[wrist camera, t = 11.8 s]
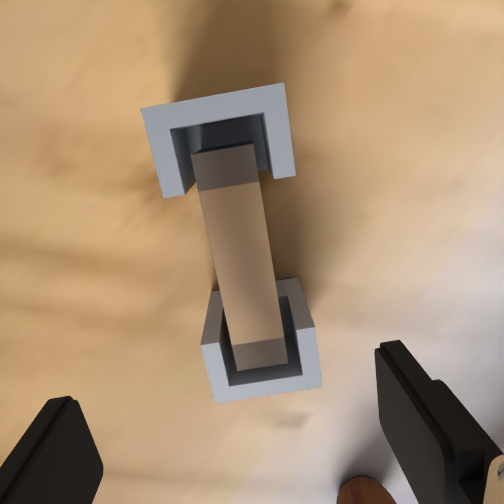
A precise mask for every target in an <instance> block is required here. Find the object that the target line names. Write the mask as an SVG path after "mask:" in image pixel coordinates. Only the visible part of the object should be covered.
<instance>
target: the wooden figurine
mask: <svg viewBox="0 0 504 504" xmlns="http://www.w3.org/2000/svg"><path fill="white" fill-rule="evenodd" d="M336 504H396V502H395V501H394V499H393V497H392V496H391V495H390V493H389V492H388V491H387V490H386V489H385V488H384V487H383V486H382V485H381V484H380V483H379V482H377V481H376V480H374V479H372V478H369V477H366V476H359V477H355V478H352V479H350V480H349V481H348V482H346V483H345V484H344V485H343V486H342V487H341V489H340V491H339V493H338V496H337V503H336Z"/></svg>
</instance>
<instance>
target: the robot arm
mask: <svg viewBox="0 0 504 504" xmlns="http://www.w3.org/2000/svg"><path fill="white" fill-rule="evenodd" d="M375 365H376V379H377V393H378V407H379V419H380V424H381V427H382V429H383V432H384V434H385V436H386V438H387V440H388V442H389V444H390V446H391V448H392V450H393V452H394V454H395V456H396V458H397V460H398V462H399V464H400V466H401V468H402V470H403V472H404V474H405V476H406V478H407V480H408V482H409V484H410V486H411V488H412V490H413V493H414V495H415V497H416V499H417V501H418V503H419V504H504V454H503V452H502V451H501V450H500V449H499V448H498V446H497V445H496V444H495V443H494V442H493V440H492V439H491V438H490V437H489V436H488V434H487V433H486V432H485V431H484V430H483V428H482V427H481V426H480V425H479V424H478V422H477V421H476V420H475V419H474V418H473V416H472V415H471V414H470V413H469V412H468V410H467V409H466V408H465V407H464V406H463V404H462V403H461V402H460V401H459V400H458V399H457V397H456V396H455V395H454V394H453V393H452V391H451V390H450V389H449V388H448V387H447V385H446V384H445V383H444V382H443V381H441V380H439V379H438V380H431V378H430V377H429V376H428V374H427V373H426V372H425V371H424V369H423V368H422V367H421V366H420V364H419V363H418V362H417V361H416V359H415V358H414V357H413V356H412V354H411V353H410V352H409V351H408V349H407V348H406V347H405V346H404V344H403V343H402V342H401V341H400V340H395V341H389V342H383V343H380V348H377V349H375ZM102 476H103V463H102V460H101V458H100V455H99V453H98V450H97V448H96V445H95V443H94V440H93V438H92V435H91V433H90V430H89V427H88V425H87V422H86V420H85V417H84V415H83V412H82V410H81V407H80V405H79V403H78V401H77V400H73V398H72V397H71V396H65V397H59V398H53V399H50V400H48V401H47V402H46V404H45V405H44V406H43V408H42V409H41V411H40V412H39V413H38V415H37V416H36V418H35V419H34V421H33V422H32V423H31V425H30V426H29V428H28V429H27V430H26V432H25V433H24V435H23V436H22V437H21V439H20V440H19V442H18V443H17V445H16V446H15V447H14V449H13V450H12V452H11V453H10V454H9V456H8V457H7V459H6V460H5V461H4V463H3V464H2V466H1V467H0V504H92V502H93V500H94V497H95V495H96V492H97V489H98V487H99V484H100V482H101V479H102Z"/></svg>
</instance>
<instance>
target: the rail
mask: <svg viewBox="0 0 504 504" xmlns="http://www.w3.org/2000/svg"><path fill="white" fill-rule="evenodd" d="M191 160H192V165H193V169H194V174H195V178H196V183H197V188H198V192H199V197H200V201H201V206H202V211H203V215H204V220H205V224H206V229H207V233H208V238H209V243H210V247H211V252H212V256H213V261H214V266H215V270H216V275H217V279H218V284H219V289H220V293H221V298H222V302H223V307H224V312H225V316H226V321H227V325H228V330H229V335H230V339H231V344H232V348H233V353H234V358H235V362H236V367H237V371H241V370H247V369H254V368H260V367H267V366H273V365H280V364H286V363H288V358H287V351H286V345H285V339H284V333H283V326H282V320H281V314H280V308H279V301H278V295H277V289H276V283H275V276H274V270H273V264H272V258H271V251H270V245H269V239H268V232H267V226H266V220H265V214H264V207H263V201H262V195H261V189H260V182H259V176H258V170H257V164H256V157H255V151H254V145H253V142H252V141H246V142H240V143H235V144H229V145H223V146H218V147H212V148H206V149H201V150H199V151H197V152H195V153H193V154H191Z"/></svg>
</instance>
